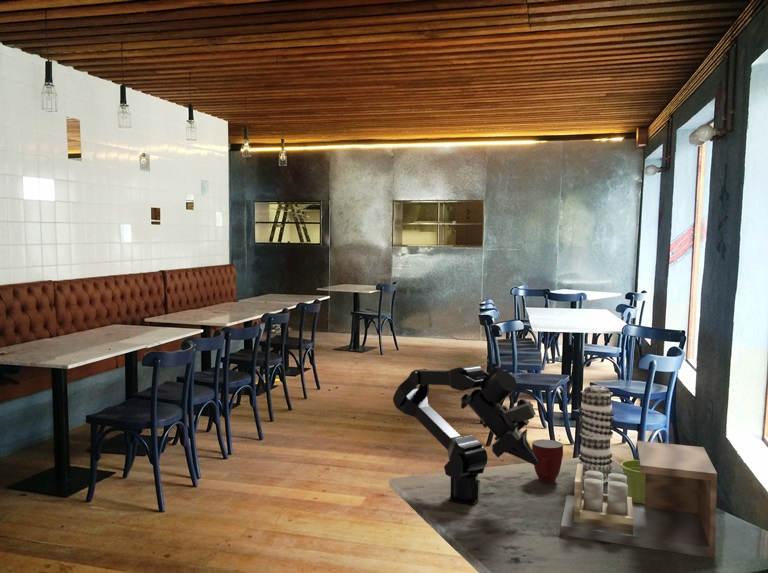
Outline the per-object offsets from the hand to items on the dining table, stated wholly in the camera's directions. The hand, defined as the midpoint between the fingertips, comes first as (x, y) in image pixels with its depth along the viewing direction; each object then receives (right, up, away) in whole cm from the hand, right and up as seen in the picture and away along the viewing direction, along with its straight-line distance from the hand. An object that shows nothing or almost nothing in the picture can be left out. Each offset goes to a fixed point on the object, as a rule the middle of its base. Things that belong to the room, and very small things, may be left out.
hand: (536, 463), depth 143 cm
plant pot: (+28, -12, +10) cm, 32 cm away
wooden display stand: (+20, -12, -6) cm, 24 cm away
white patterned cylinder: (+22, -11, +26) cm, 36 cm away
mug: (+8, -11, +22) cm, 26 cm away
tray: (+14, -10, -4) cm, 18 cm away
